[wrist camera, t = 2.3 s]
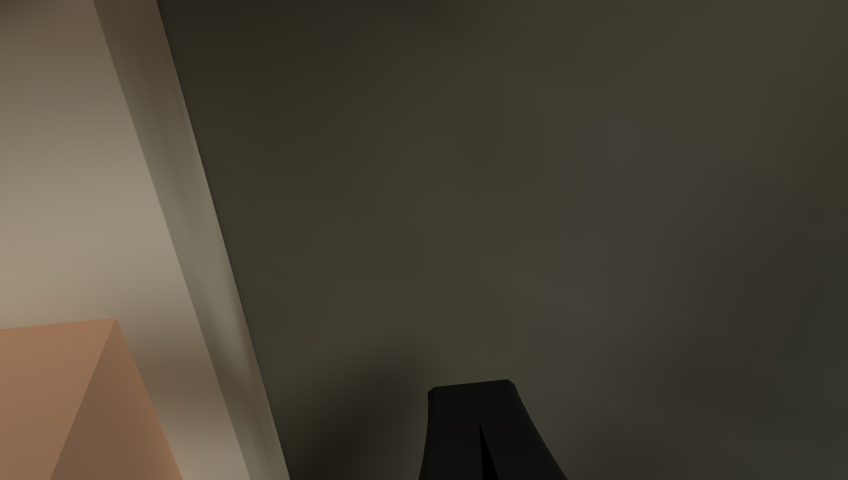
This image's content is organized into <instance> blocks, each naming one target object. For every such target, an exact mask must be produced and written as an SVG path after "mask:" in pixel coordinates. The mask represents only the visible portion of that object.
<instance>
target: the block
mask: <svg viewBox="0 0 848 480" xmlns="http://www.w3.org/2000/svg"><path fill="white" fill-rule="evenodd" d="M0 480H183V478H182V475H181V473H180V471H179V468H178V466H177V463H176V461H175V459H174V456H173V454H172V451H171V449H170V447H169V444H168V442H167V439H166V437H165V434H164V432H163V430H162V427H161V425H160V422H159V420H158V418H157V415H156V413H155V410H154V408H153V405H152V403H151V401H150V398H149V396H148V393H147V391H146V389H145V386H144V384H143V381H142V379H141V376H140V374H139V372H138V369H137V367H136V364H135V362H134V360H133V357H132V355H131V352H130V350H129V348H128V345H127V343H126V340H125V338H124V335H123V333H122V331H121V328H120V326H119V323H118V321H117V319H116V318H107V319H97V320H87V321H77V322H67V323H57V324H48V325H38V326H28V327H18V328H8V329H0Z"/></svg>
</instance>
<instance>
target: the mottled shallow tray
mask: <svg viewBox="0 0 848 480" xmlns="http://www.w3.org/2000/svg"><path fill="white" fill-rule="evenodd" d="M107 318H116V319H117V321H118V323H119V326H120V328H121V331H122V333H123V335H124V338H125V340H126V343H127V345H128V348H129V350H130V352H131V355H132V357H133V360H134V362H135V364H136V367H137V369H138V372H139V374H140V376H141V379H142V381H143V384H144V386H145V389H146V391H147V393H148V396H149V398H150V401H151V403H152V405H153V408H154V410H155V413H156V415H157V418H158V420H159V422H160V425H161V427H162V430H163V432H164V434H165V437H166V439H167V442H168V444H169V447H170V449H171V451H172V454H173V456H174V459H175V461H176V463H177V466H178V468H179V471H180V473H181V475H182V478H183V480H290V477H289V474H288V470H287V467H286V463H285V460H284V456H283V452H282V449H281V445H280V442H279V438H278V434H277V431H276V427H275V424H274V420H273V417H272V413H271V409H270V406H269V402H268V399H267V395H266V391H265V388H264V384H263V381H262V377H261V374H260V370H259V366H258V363H257V359H256V356H255V352H254V348H253V345H252V341H251V338H250V334H249V331H248V327H247V323H246V320H245V316H244V313H243V309H242V305H241V302H240V298H239V295H238V291H237V288H236V284H235V280H234V277H233V273H232V270H231V266H230V262H229V259H228V255H227V252H226V248H225V245H224V241H223V237H222V234H221V230H220V227H219V223H218V219H217V216H216V212H215V209H214V205H213V201H212V198H211V194H210V191H209V187H208V184H207V180H206V176H205V173H204V169H203V166H202V162H201V158H200V155H199V151H198V148H197V144H196V141H195V137H194V133H193V130H192V126H191V123H190V119H189V115H188V112H187V108H186V105H185V101H184V98H183V94H182V90H181V87H180V83H179V80H178V76H177V72H176V69H175V65H174V62H173V58H172V55H171V51H170V47H169V44H168V40H167V37H166V33H165V29H164V26H163V22H162V19H161V15H160V12H159V8H158V4H157V1H156V0H0V329H8V328H18V327H28V326H38V325H48V324H57V323H67V322H77V321H87V320H97V319H107Z"/></svg>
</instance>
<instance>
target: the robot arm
mask: <svg viewBox="0 0 848 480" xmlns="http://www.w3.org/2000/svg"><path fill="white" fill-rule="evenodd" d="M419 480H567V478H566V477H565V475H564V474H563V472H562V470H561V469H560V467H559V466H558V464H557V463H556V461H555V460H554V458H553V457H552V455H551V453H550V452H549V450H548V448H547V447H546V445H545V443H544V442H543V440H542V438H541V436H540V435H539V433H538V431H537V430H536V428H535V426H534V424H533V422H532V420H531V419H530V417H529V415H528V413H527V411H526V409H525V407H524V405H523V403H522V401H521V399H520V397H519V394H518V392H517V390H516V387H515V385H514V384H513V383H512V382H511V381H509V380H508V379H507V380H497V381H488V382H478V383H468V384H459V385H449V386H440V387H434V388H433V389H431V390H430V391H429V392H428V425H427V435H426V442H425V449H424V456H423V462H422V467H421V471H420V476H419Z"/></svg>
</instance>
